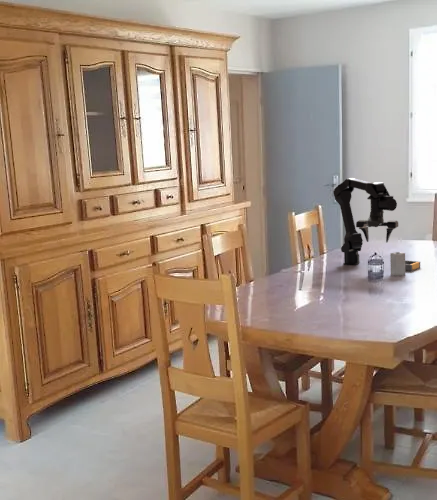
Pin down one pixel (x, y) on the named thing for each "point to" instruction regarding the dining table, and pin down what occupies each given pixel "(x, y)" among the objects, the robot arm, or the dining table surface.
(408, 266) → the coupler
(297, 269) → the dining table surface
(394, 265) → the grey upright block
